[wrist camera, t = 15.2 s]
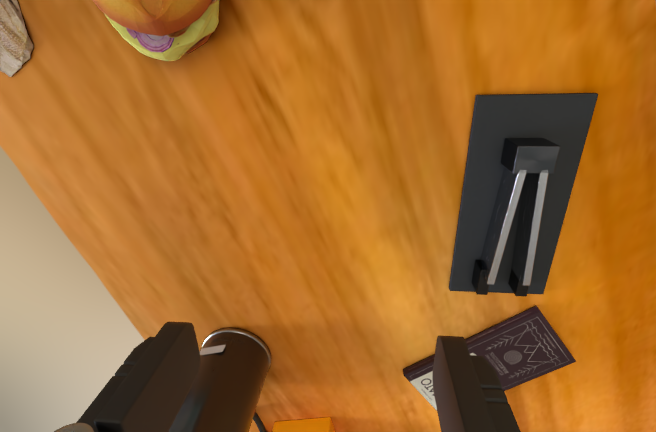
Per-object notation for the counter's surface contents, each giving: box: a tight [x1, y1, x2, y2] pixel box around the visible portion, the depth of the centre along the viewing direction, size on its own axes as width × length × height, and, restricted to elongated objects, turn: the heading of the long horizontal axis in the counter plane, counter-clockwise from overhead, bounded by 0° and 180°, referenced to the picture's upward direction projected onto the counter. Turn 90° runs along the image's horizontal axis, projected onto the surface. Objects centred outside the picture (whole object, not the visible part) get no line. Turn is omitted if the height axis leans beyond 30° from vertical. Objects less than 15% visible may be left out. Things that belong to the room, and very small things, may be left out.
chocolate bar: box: [403, 306, 576, 410], centre depth 44 cm, size 9×1×18 cm
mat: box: [449, 93, 598, 294], centre depth 36 cm, size 21×10×1 cm, turn 1°
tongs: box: [472, 138, 560, 296], centre depth 34 cm, size 16×5×3 cm, turn 1°
